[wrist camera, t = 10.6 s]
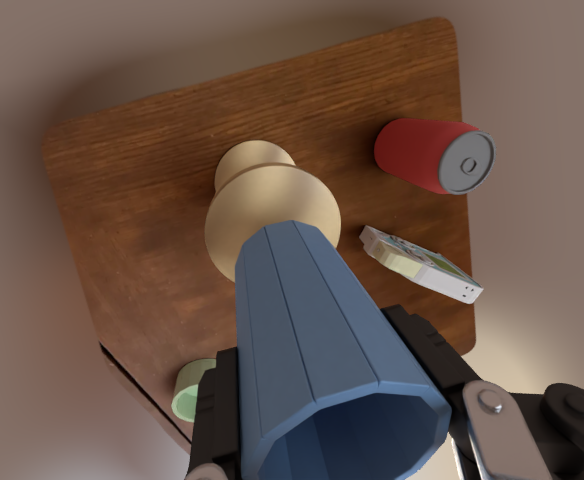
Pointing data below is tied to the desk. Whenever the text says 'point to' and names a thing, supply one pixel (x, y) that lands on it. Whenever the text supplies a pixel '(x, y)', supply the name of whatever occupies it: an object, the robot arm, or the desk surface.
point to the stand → (263, 200)
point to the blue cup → (324, 369)
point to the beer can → (436, 154)
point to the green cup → (189, 388)
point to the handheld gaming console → (420, 265)
